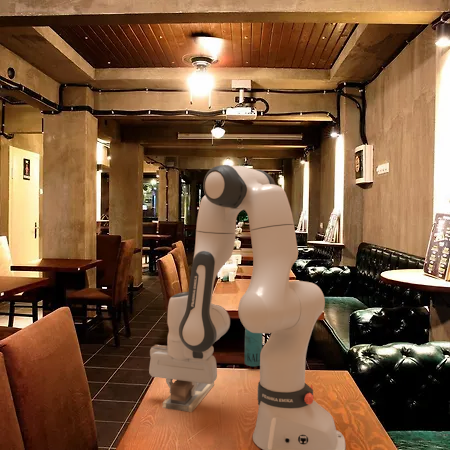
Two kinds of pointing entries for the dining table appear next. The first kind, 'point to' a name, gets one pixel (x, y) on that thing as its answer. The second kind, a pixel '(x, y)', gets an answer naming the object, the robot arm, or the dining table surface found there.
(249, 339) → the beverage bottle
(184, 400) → the block
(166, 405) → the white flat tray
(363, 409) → the dining table surface
